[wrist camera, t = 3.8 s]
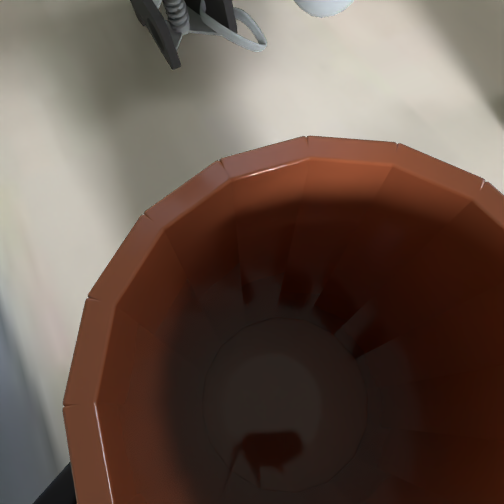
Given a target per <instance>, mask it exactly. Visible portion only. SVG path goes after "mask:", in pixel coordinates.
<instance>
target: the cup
mask: <svg viewBox="0 0 504 504" xmlns="http://www.w3.org/2000/svg"><path fill="white" fill-rule="evenodd" d="M63 405H64V406H65V407H63V417H64V424H65V430H66V437H67V443H68V449H69V456H70V462H71V469H72V475H73V481H74V488H75V494H76V500H77V504H504V195H503V194H502V193H501V192H500V191H498V190H497V189H496V188H495V187H494V186H493V185H492V184H490V183H489V182H485V179H483V178H481V177H478V176H476V175H474V174H471V173H469V172H467V171H464V170H462V169H460V168H457V167H455V166H453V165H450V164H448V163H446V162H443V161H441V160H438V159H436V158H434V157H431V156H429V155H427V154H424V153H422V152H420V151H417V150H415V149H413V148H410V147H408V146H406V145H403V144H401V143H398V144H397V143H395V142H386V141H373V140H360V139H347V138H334V137H321V136H307V137H305V136H302V137H298V138H294V139H291V140H287V141H283V142H279V143H276V144H272V145H268V146H265V147H261V148H257V149H253V150H250V151H246V152H242V153H239V154H235V155H231V156H228V157H224V158H221V159H220V160H219V161H218V160H217V161H215V162H214V163H212V164H211V165H209V166H208V167H207V168H205V169H204V170H202V171H201V172H199V173H198V174H197V175H195V176H194V177H192V178H191V179H190V180H188V181H187V182H185V183H184V184H183V185H181V186H180V187H178V188H177V189H176V190H174V191H173V192H171V193H170V194H169V195H167V196H166V197H164V198H163V199H161V200H160V201H159V202H157V203H156V204H154V205H153V206H152V207H150V208H149V209H147V210H146V211H145V212H144V215H141V216H140V217H139V219H138V220H137V222H136V223H135V225H134V226H133V228H132V229H131V231H130V232H129V234H128V235H127V237H126V238H125V240H124V241H123V243H122V244H121V246H120V247H119V249H118V250H117V252H116V253H115V255H114V256H113V258H112V259H111V261H110V262H109V264H108V265H107V267H106V268H105V270H104V271H103V273H102V274H101V276H100V277H99V279H98V280H97V282H96V283H95V285H94V286H93V288H92V289H91V291H90V292H89V294H88V298H87V299H86V301H85V305H84V309H83V314H82V318H81V323H80V327H79V332H78V336H77V341H76V345H75V350H74V354H73V359H72V363H71V368H70V372H69V377H68V381H67V386H66V390H65V395H64V399H63Z"/></svg>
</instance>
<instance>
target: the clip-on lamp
mask: <svg viewBox="0 0 504 504" xmlns="http://www.w3.org/2000/svg"><path fill="white" fill-rule="evenodd" d="M130 1H131V3H132V6H133V8H134V11H135V13H136V16H137V18H138V19H139V21H140V22H141V24H142V25H143V26H145V25H146V26H147V28H148V30H149V32H150V33H151V35H152V37H153V38H154V40H155V42H156V43H157V45H158V47H159V48H160V50H161V52H162V54H163V55H164V57H165V59H166V60H167V62H168V64H169V65H170V67H171V69H172V70H174V69H176V68H178V67H180V66H181V64H180V60H179V57H178V54H177V49H178V47H179V44H180V42H181V39H182V37H183V35H186V34H188V33H197V34H208V35H218V36H223V37H224V38H226V39H228V40H229V41H231V42H233V43H235V44H237V45H239V46H241V47H243V48H245V49H248V50H251V51H254V52H261V51H262V50H264V49H265V48H266V46H267V41H266V38H265V36H264V34H263V33H262V31H261V29H260V28H259V26H258V25H257V24H256V22H255V21H254V20H253V19H252V18H251V17H250V15H248V14H247V13H246V12H245V11H244V10H242V9H239V8H233V5H232V0H130ZM294 1H295V3H296V4H297V5H298V6H299V7H300V8H301V9H302V10H303V11H305V12H306V13H308V14H310V15H311V16H315V17H320V18H322V17H328V16H334V15H336V14H338V13H340V12H342V11H344V10H345V9H346V8H347V7H348V6H349V5H351V4H352V2H353V1H354V0H294ZM161 2H163V4H164V8H165V10H166V14H167V16H168V20H169V21H167V20H164V18H163V16H162V14H161V13H160V11H159V10H158V9H159V6H160V4H161ZM235 19H237V20H240V21H242V22H243V23H244V24H246V26H247V27H248V28H249V29H250V30H251V31H252V33H253V34H254V35H255V37H256V39H257V40H258V42H259V44H258V43H255V42H253V41H250V40H248V39H246V38H244V37H242V36H240V35H238V34H237V25H236V20H235Z"/></svg>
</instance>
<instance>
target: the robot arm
mask: <svg viewBox="0 0 504 504" xmlns="http://www.w3.org/2000/svg"><path fill="white" fill-rule="evenodd" d="M33 504H77V500H76V494H75V488H74V481H73V475H72V469H71V462H70V463H69V464H68V465H67V466H66V467H65V468H64V469H63V470H62V472H61V473H60V474H59V475H58V476H57V477H56V478H55V479H54V480H53V482H52V483H51V484H50V485H49V486H48V487H47V488H46V489H45V491H44V492H43V493H42V494H41V495H40V496H39V497H38V498H37V499H36V501H35V502H34V503H33Z"/></svg>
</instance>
